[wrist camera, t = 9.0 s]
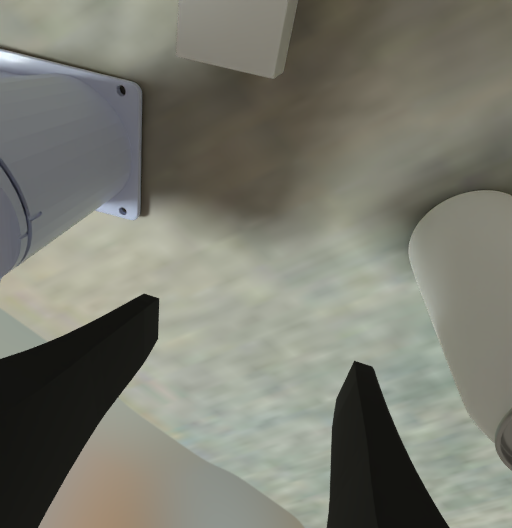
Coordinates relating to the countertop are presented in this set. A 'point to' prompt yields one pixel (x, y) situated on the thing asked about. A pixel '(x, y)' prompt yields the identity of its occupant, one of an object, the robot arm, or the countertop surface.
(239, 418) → the countertop surface
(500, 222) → the can
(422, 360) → the countertop surface
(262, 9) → the grey cube
